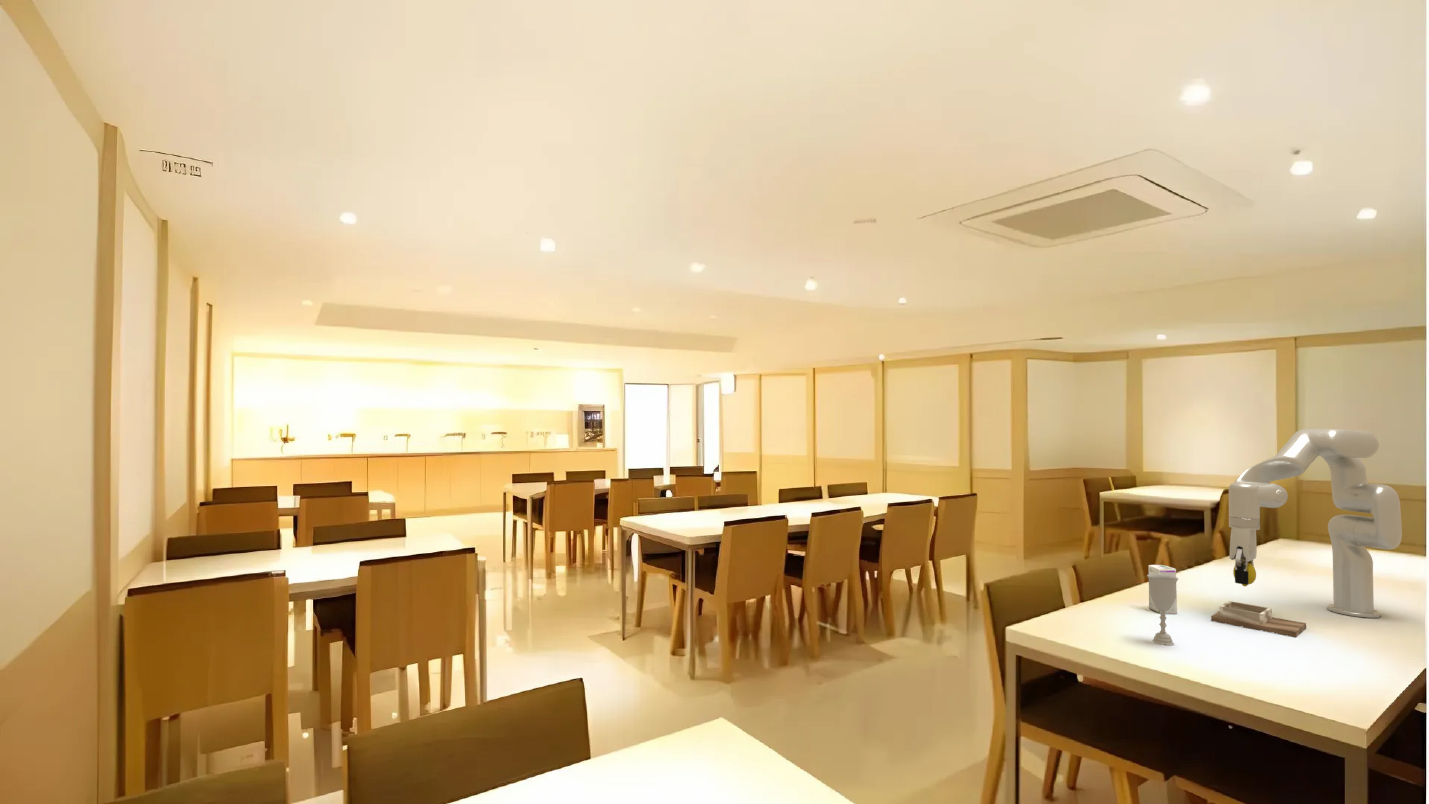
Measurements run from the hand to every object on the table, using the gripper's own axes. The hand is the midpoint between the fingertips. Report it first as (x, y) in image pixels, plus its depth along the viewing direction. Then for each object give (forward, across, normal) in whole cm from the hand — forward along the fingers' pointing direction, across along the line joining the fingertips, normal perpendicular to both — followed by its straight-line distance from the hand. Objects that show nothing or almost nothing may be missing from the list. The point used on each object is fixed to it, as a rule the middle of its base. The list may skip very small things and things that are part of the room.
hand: (1244, 581), depth 206 cm
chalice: (+13, +43, -9) cm, 45 cm away
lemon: (+2, 0, 0) cm, 2 cm away
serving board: (+12, 0, +3) cm, 13 cm away
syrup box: (+13, +7, -20) cm, 24 cm away
